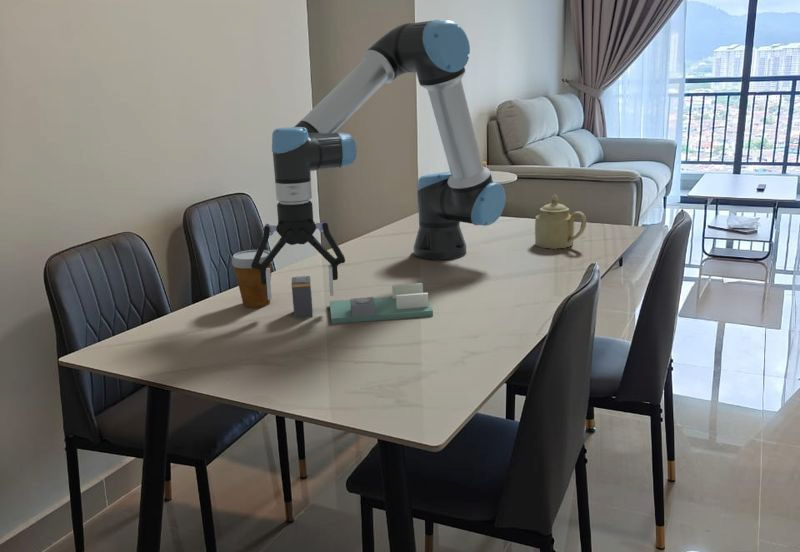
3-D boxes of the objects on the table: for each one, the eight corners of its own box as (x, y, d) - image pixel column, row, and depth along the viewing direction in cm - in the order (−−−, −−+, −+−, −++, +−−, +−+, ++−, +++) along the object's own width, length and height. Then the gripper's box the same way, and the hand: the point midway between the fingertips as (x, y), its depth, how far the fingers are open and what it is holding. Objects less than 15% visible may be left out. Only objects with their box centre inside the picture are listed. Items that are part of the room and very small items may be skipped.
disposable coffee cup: (284, 298, 171) (280, 250, 167) (264, 311, 162) (259, 260, 159) (249, 296, 174) (244, 248, 170) (228, 308, 165) (222, 258, 162)
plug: (294, 311, 162) (291, 272, 159) (312, 309, 162) (309, 270, 160) (294, 318, 157) (290, 278, 154) (312, 317, 158) (309, 277, 155)
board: (329, 306, 164) (328, 288, 163) (424, 298, 167) (423, 281, 165) (331, 323, 153) (330, 305, 152) (433, 315, 155) (432, 297, 154)
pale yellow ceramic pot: (588, 241, 212) (590, 191, 208) (584, 251, 202) (586, 198, 198) (538, 239, 217) (539, 190, 213) (531, 248, 207) (532, 197, 203)
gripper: (233, 207, 147) (242, 304, 153) (353, 201, 150) (358, 297, 156) (236, 201, 155) (245, 294, 161) (351, 195, 157) (356, 287, 163)
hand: (301, 296), depth 158 cm, fingers open, 13 cm apart
